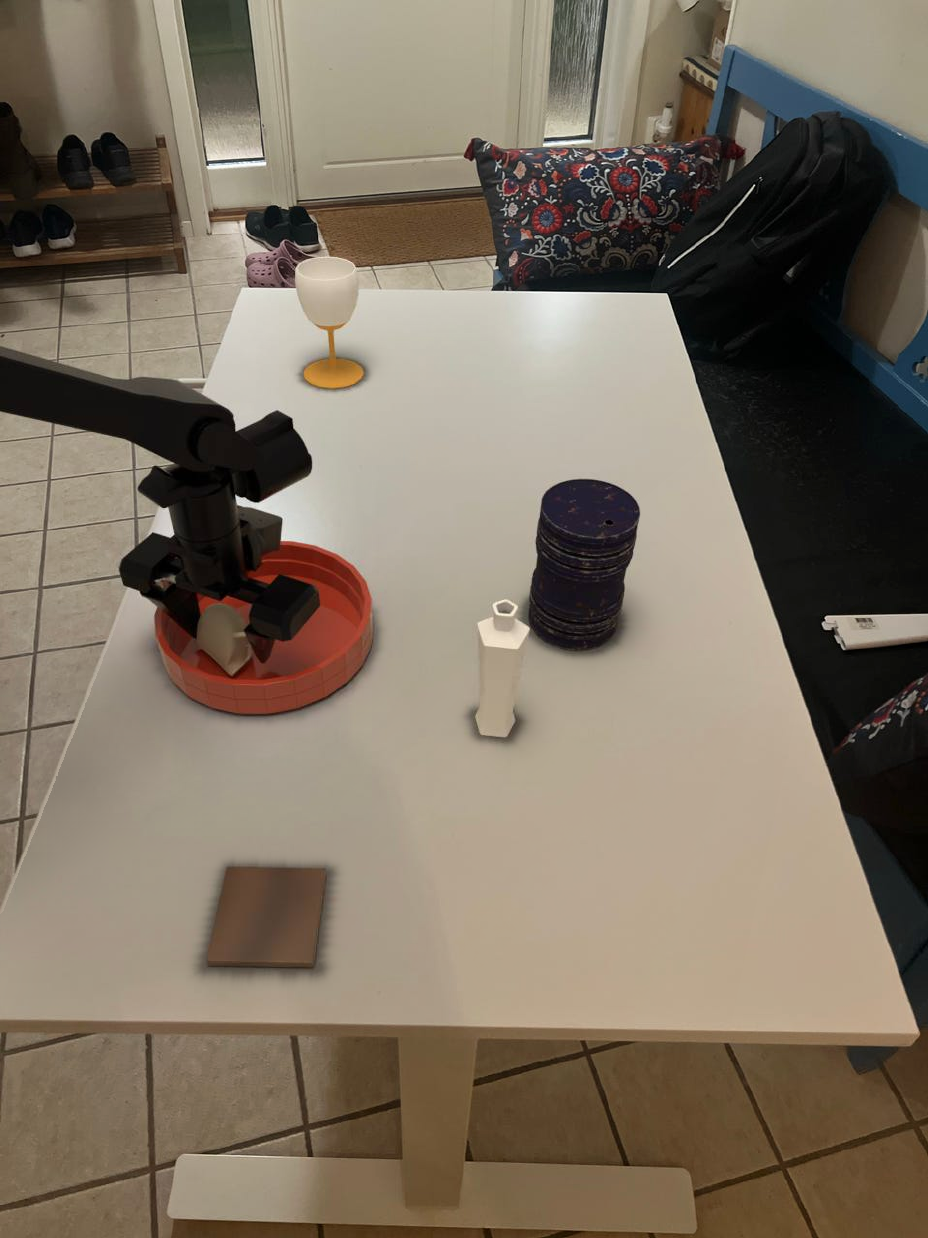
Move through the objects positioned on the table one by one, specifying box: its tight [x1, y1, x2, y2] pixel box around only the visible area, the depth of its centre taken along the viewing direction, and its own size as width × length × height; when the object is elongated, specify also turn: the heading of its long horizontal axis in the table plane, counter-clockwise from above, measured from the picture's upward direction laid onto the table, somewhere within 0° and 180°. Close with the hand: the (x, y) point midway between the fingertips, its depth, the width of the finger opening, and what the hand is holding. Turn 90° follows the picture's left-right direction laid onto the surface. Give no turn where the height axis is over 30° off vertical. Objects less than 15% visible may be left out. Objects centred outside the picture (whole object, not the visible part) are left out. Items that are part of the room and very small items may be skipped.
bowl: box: [153, 540, 374, 715], centre depth 91 cm, size 21×21×4 cm
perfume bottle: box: [475, 598, 531, 738], centre depth 80 cm, size 5×4×15 cm
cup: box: [294, 256, 365, 390], centre depth 129 cm, size 9×9×16 cm
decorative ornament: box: [193, 603, 252, 676], centre depth 88 cm, size 4×8×5 cm, turn 44°
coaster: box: [205, 866, 327, 968], centre depth 70 cm, size 8×8×1 cm
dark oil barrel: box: [527, 478, 641, 651], centre depth 91 cm, size 10×10×15 cm
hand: (231, 648), depth 89 cm, fingers closed on decorative ornament, 7 cm apart
